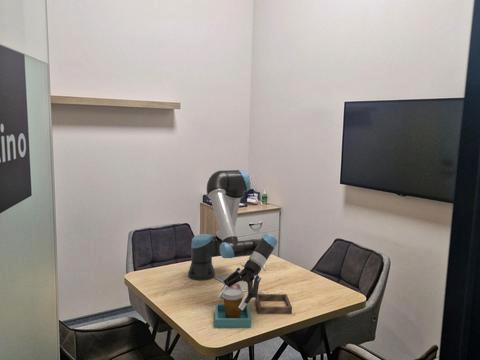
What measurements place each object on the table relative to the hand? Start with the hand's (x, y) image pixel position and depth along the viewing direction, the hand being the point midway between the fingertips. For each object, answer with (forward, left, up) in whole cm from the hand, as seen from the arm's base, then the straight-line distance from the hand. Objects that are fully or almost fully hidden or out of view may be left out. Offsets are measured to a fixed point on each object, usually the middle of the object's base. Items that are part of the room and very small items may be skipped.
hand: (229, 303), depth 182 cm
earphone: (+17, +71, -8) cm, 74 cm away
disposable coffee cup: (+1, +1, -7) cm, 7 cm away
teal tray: (+1, +1, -8) cm, 8 cm away
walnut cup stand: (+21, +14, -8) cm, 27 cm away
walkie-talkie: (+2, +27, -8) cm, 28 cm away
